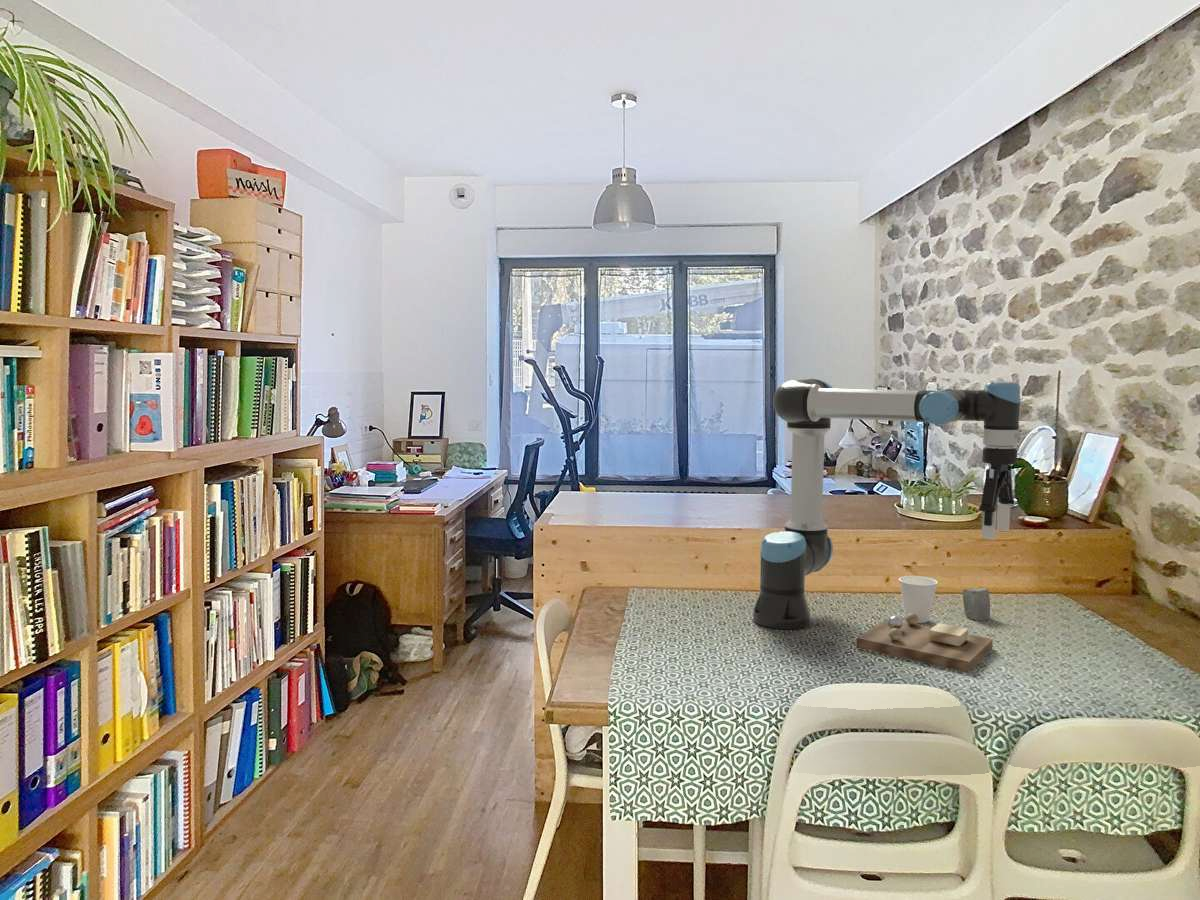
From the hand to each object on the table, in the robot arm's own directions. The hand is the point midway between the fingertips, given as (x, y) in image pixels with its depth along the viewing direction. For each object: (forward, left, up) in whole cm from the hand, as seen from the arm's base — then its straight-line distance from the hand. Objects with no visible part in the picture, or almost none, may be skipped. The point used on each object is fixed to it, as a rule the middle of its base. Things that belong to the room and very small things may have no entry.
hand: (995, 534), depth 202 cm
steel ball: (-20, -9, -24) cm, 32 cm away
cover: (-7, -9, -25) cm, 28 cm away
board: (-12, -11, -28) cm, 33 cm away
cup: (-21, +11, -28) cm, 37 cm away
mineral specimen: (-10, +24, -28) cm, 38 cm away
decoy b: (-18, -2, -24) cm, 30 cm away
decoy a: (-17, -17, -24) cm, 34 cm away
